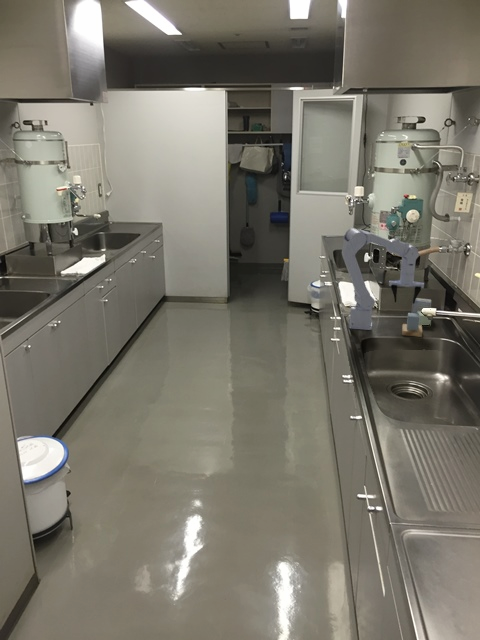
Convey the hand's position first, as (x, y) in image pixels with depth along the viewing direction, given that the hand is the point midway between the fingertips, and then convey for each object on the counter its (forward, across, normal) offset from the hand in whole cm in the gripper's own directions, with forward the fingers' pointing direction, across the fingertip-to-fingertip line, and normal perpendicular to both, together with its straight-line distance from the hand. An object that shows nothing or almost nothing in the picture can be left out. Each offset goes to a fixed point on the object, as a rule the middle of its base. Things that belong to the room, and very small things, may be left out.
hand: (404, 302), depth 230 cm
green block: (+11, +9, +3) cm, 14 cm away
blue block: (+8, +4, -9) cm, 13 cm away
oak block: (+10, +4, -9) cm, 14 cm away
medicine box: (+11, +8, +10) cm, 17 cm away
